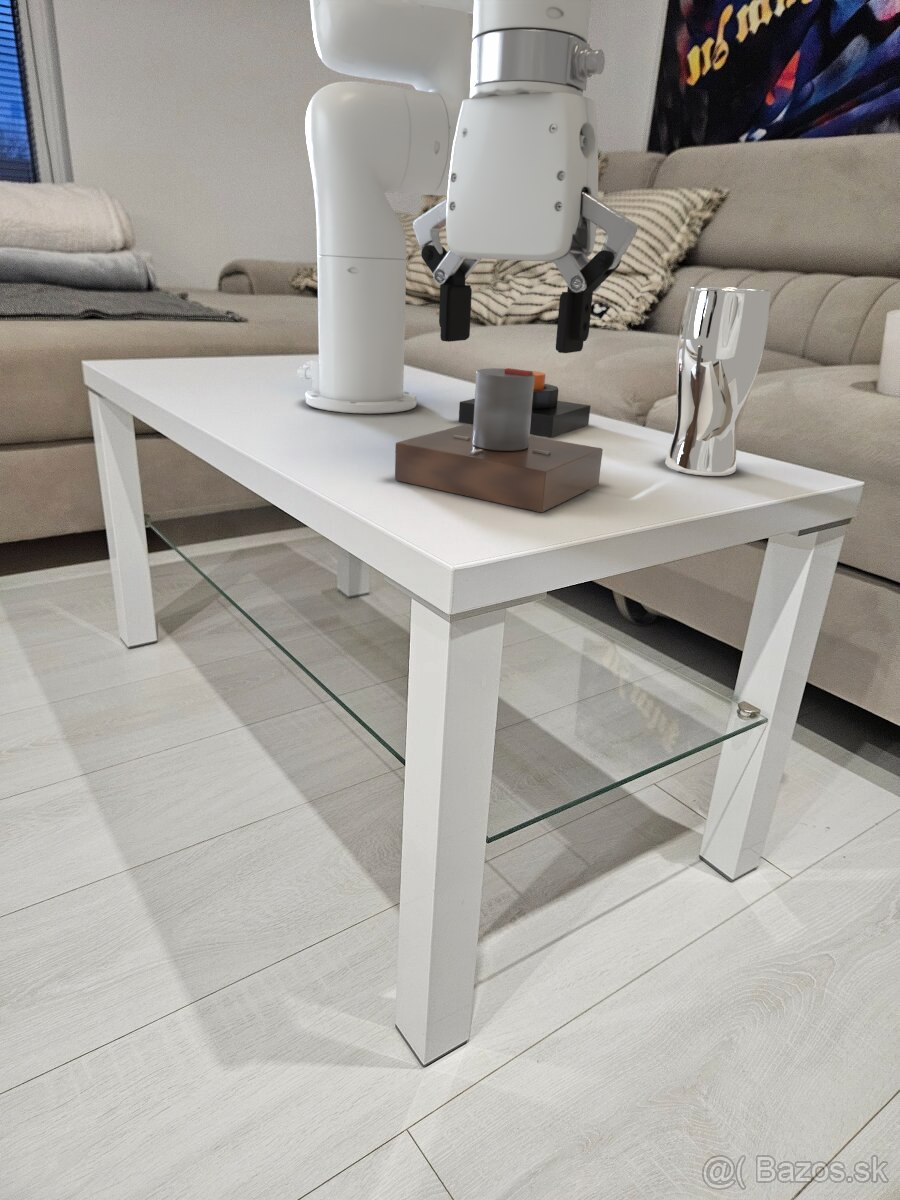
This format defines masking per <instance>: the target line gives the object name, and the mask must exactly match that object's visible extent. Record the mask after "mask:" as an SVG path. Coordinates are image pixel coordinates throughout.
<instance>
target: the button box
mask: <svg viewBox="0 0 900 1200" xmlns="http://www.w3.org/2000/svg"><path fill="white" fill-rule="evenodd" d="M474 405H475V398H471V399H466V400H461V401H459V406H458V407H459V408H458V423H461V424H462V423H463V424H466V425H473V423H474ZM590 414H591V404H590V405H589V404H582V403H577V402H576V403H575V402H570V401H569V402H568V401H562V400H559V387H558V386H556V385H552V384H548V383H545V385H544V389H540V390H533V401H532V413H531V425H530V436H536V437H537V436H538V437H542V438H548V439H553V438H556V437H558V436H562V435H564V434H567V433H570V432H573V431H576V430H579V429H583V428H584V427H587V426H589V425H590V424H589V422H590Z"/></svg>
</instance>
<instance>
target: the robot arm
mask: <svg viewBox="0 0 900 1200" xmlns="http://www.w3.org/2000/svg"><path fill="white" fill-rule="evenodd" d="M309 3H310V4H309V5H310V16H311V25H312V26H311V27H312V33H313V39H314V40H313V41H314V45H315V48H316V52H317V55H318V56H319V58H320V60H321V62H322V63H323V65H324V66H325V67H327V68H328V69H329V70H331V71H334V72H336V73H338V74H339V73H340V74H342V75H343V74H344V75H345V76H346V75H347V76H351V77H357V78H362V79H371V80H377V81H385V82H391V83H400V84H405V85H411V86H413V88H414V89H411V88H404V87H403V88H402V87H399V86H394V85H386V84H380V83H373V82H371V83H370V82H362V81H350V80H349V81H338V82H332V83H330V84H329V83H328V84H327V85H325V86H323V87H321V88H320V89H318V90H317V91H316V92H315V93H314V94H313V96H312V97H311V99H310V101H309V103H308V106H307V109H306V114H305V138H306V147H307V153H308V158H309V159H308V160H309V164H310V172H311V177H312V185H313V193H314V204H315V205H314V206H315V224H316V260H317V263H316V265H317V266H316V267H317V270H316V271H317V321H318V323H317V325H318V326H317V327H318V359H314V360H306V361H304V362H303V365H299V366H298V367H297V369H296V376H297V377H298V378H299V379H305V380H311V384H312V385H311V389H309V390H308V391H306V392H305V403H306V405H308V406H310V407H312V408H315V409H319V410H323V411H329V412H335V413H346V414H365V415H367V414H370V415H371V414H375V415H376V414H393V413H402V412H405V411H410V410H413V409H414V408H416V406H417V403H418V402H417V395H415V394H414V393H413V392H410V391H407V390H404V381H405V379H404V378H405V377H404V376H405V339H406V338H405V337H406V335H405V334H406V329H405V328H406V292H407V291H406V290H407V239H406V234H405V230H404V227H403V225H402V223H401V220H400V219H399V217H398V215H397V213H396V211H395V210H394V208H393V207H392V205H391V203H390V202H389V200H388V198H387V197H386V194H394V193H396V194H397V193H400V194H409V195H410V194H411V195H425V196H446V198H444V199H443V200H441V201H440V202H438V203H437V204H436V205H433V206H432V207H431V208H429V209H428V210H427V211H426V212H424V213H423V214H421V215H419V216H418V217H416V218H415V219H413V222H412V229H413V232H414V235H415V238H416V241H417V243H418V247H419V248H420V249H421V252H420V253H421V254H420V255H421V258H422V260H423V262H424V263H425V265H426V266H427V267H428V269H429V270H430V271H431V272H432V277H433V281H434V283H435V284H437V285H439V310H438V311H439V312H438V315H439V316H438V317H439V318H438V325H439V328H440V336H439V337H440V340H441V341H442V342H449V343H451V342H460V341H466V340H468V339H470V335H471V332H470V331H471V318H472V317H471V314H472V296H473V295H472V294H473V290H472V288H471V287H472V285H470V284H466V280H467V279H468V277H470V275H471V274H472V272H473V271H474V270H475V268H476V267H477V265H478V264H479V263H480V262H481V260H482V259H483V260H484V259H485V260H502V261H522V262H523V261H524V262H547V263H551V262H552V263H554V265H555V267H556V269H557V270H558V272H559V273H560V275H561V277H562V279H563V280H564V282H565V283H566V285H567V288H566V289H567V291H562V292H561V294H560V295H559V303H558V314H557V326H556V337H555V338H556V339H555V351H557V352H558V353H560V354H570V353H579V352H582V351H583V348H584V342H586V341H587V340H588V338H589V334H590V325H591V315H592V307H593V306H592V305H593V294H594V293H596V292H597V291H598V290H599V289H600V288H601V285H602V284H603V283H604V282H605V281H606V280H607V279H608V278H609V277H610V276H611V275H612V274H613V273H614V272H615V271H616V270H617V269H618V268H619V267H620V266H621V265H620V264H621V261H622V258H623V256H624V255H625V254H626V253H627V251H628V249H629V247H630V245H631V244H632V242H633V240H634V238H635V237H636V235H637V232H638V225H637V224H636V223H635V222H634V221H632V220H631V219H629V218H628V217H626V216H625V215H623V214H622V213H620V212H619V211H617V210H616V209H614V208H612V207H611V206H610V205H608V204H607V203H605V202H604V201H602V200H601V199H599V150H598V149H599V143H598V142H599V141H598V126H597V114H596V104H595V100H593V99H592V98H589V97H585V96H584V91H587V82H588V79H590V78H591V77H592V76H595V75H596V76H597V75H601V74H603V72H604V69H605V65H606V64H605V53H604V50H603V49H601V48H600V49H593V48H591V45H590V44H589V43H588V39H589V28H590V18H591V17H590V16H591V5H592V0H309ZM469 14H472V15H473V16H472V17H473V18H472V19H473V20H472V22H473V23H472V33H471V23H470V22H471V21H470V15H469ZM444 227H445V235H446V237H445V239H446V244H447V247H448V250H447V249H446V248H445V247H444V246H442V243H441V238H440V232H441V230H442V229H443V228H444ZM597 227H598V228H599V229H601V230H602V231H604V232H605V240H604V242H603V246H602V247H601V249H600V250H599V251H598V252H597V253H596V254H595V255H594V256H593V257H592V258H591V259H590V260H589V257H590V256H591V255H592V253H593V252H594V248H595V243H596V236H597Z"/></svg>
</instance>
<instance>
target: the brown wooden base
mask: <svg viewBox="0 0 900 1200" xmlns="http://www.w3.org/2000/svg"><path fill="white" fill-rule="evenodd" d="M472 441H473V425H470V424H462V425H458V426H454V427H450V428H447V429H443V430H439V431H438V430H437V431H434V432H432V433H431V432H430V433H427V434H424V435H419V436H416V437H412V438H408V439H405V440H402V441H401V440H400V441H396V442H395V451H394V452H395V453H394V454H395V456H394V458H395V459H394V480H395V481H397V482H401V483H402V482H403V483H406V484H411V485H415V486H420V487H424V488H428V489H432V490H433V489H434V490H438V491H442V492H447V493H450V494H451V493H452V494H455V495H461V496H465V497H468V498H474V499H478V500H484V501H488V502H492V503H496V504H500V505H505V506H510V507H514V508H519V509H524V510H528V511H532V512H538V513H541V514H542V513H544V512H546V511H549V510H550V509H552V508H554V507H556V506H558V505H560V504H562V503H565V502H566V501H569V500H570V499H573V498H575V497H577V496H579V495H581V494H584V493H585V492H587V491H589V490H590V489H593V488H595V487H596V486H599V483H600V476H601V466H602V458H603V450H604V449H603V448H601V447H595V446H590V445H585V444H580V443H579V444H578V443H574V442H573V443H572V442H568V441H567V442H566V441H561V440H557V439H556V440H555V439H551V438H546V437H540V436H538V437H537V436H534V435H530V436H529V447H528V448H526V449H523V450H518V451H496V450H488V449H483V448H480V447H477V446H475V445H473V443H472Z"/></svg>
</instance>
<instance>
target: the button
mask: <svg viewBox="0 0 900 1200" xmlns="http://www.w3.org/2000/svg"><path fill="white" fill-rule="evenodd" d="M532 371H533V373H534V374H535V377H534V389H533V390H540V389H544V385H545V384H546V373H545V372H542V371H536V370H532Z"/></svg>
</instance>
